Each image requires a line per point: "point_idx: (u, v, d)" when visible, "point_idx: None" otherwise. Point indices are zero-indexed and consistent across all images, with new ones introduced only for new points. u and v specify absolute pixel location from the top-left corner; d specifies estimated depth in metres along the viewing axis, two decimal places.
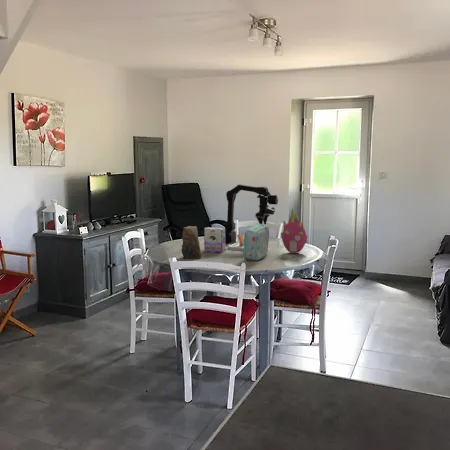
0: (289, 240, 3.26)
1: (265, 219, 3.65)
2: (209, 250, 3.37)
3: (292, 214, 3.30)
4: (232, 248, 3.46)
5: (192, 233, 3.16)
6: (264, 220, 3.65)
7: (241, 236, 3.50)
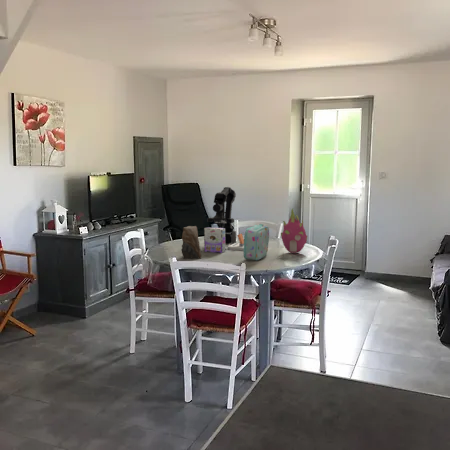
0: (289, 240, 3.26)
1: None
2: (209, 250, 3.37)
3: (292, 214, 3.30)
4: (232, 248, 3.46)
5: (192, 233, 3.16)
6: None
7: (241, 236, 3.50)
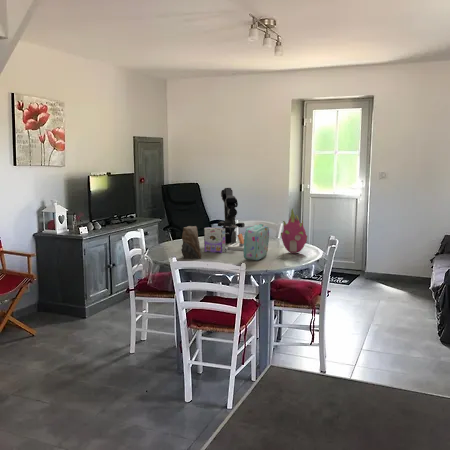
0: (289, 240, 3.26)
1: None
2: (209, 250, 3.37)
3: (292, 214, 3.30)
4: (232, 248, 3.46)
5: (192, 233, 3.16)
6: None
7: (241, 236, 3.50)
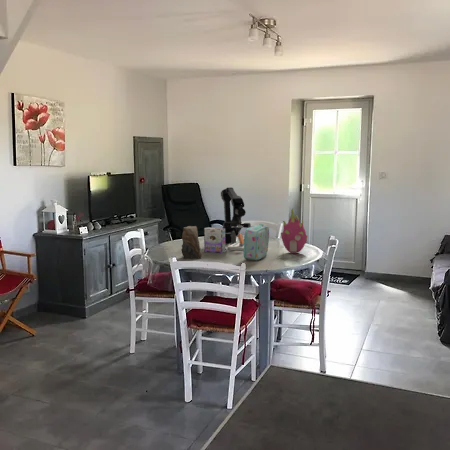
0: (289, 240, 3.26)
1: None
2: (209, 250, 3.37)
3: (292, 214, 3.30)
4: (232, 248, 3.46)
5: (192, 233, 3.16)
6: None
7: (241, 236, 3.50)
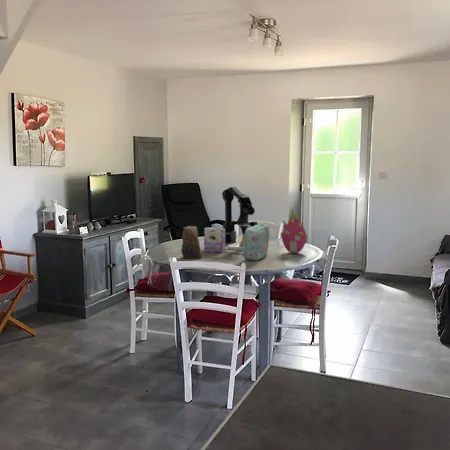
0: (289, 240, 3.26)
1: None
2: (209, 250, 3.37)
3: (292, 214, 3.30)
4: (232, 248, 3.46)
5: (192, 233, 3.16)
6: None
7: None
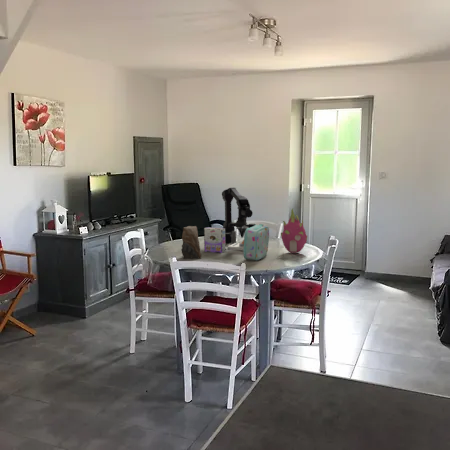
0: (289, 240, 3.26)
1: None
2: (209, 250, 3.37)
3: (292, 214, 3.30)
4: (232, 248, 3.46)
5: (192, 233, 3.16)
6: None
7: None
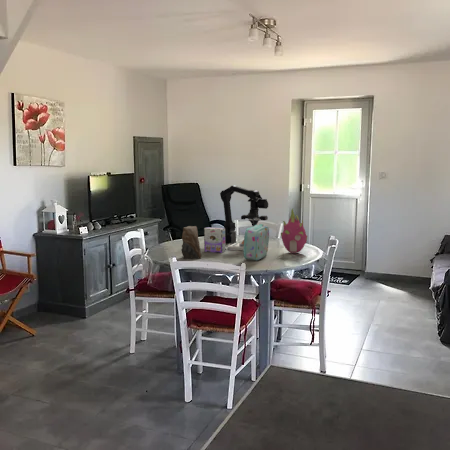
0: (289, 240, 3.26)
1: None
2: (209, 250, 3.37)
3: (292, 214, 3.30)
4: (232, 248, 3.46)
5: (192, 233, 3.16)
6: None
7: None
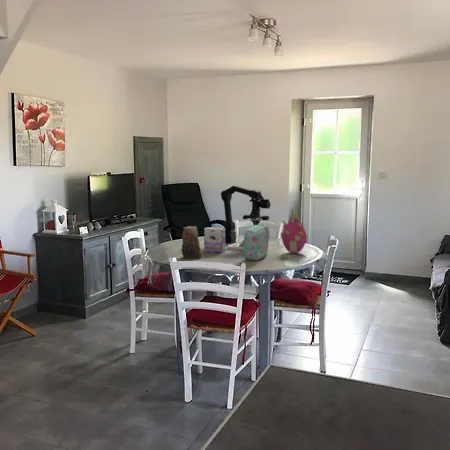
0: (289, 240, 3.26)
1: None
2: (209, 250, 3.37)
3: (292, 214, 3.30)
4: (232, 248, 3.46)
5: (192, 233, 3.16)
6: None
7: None
